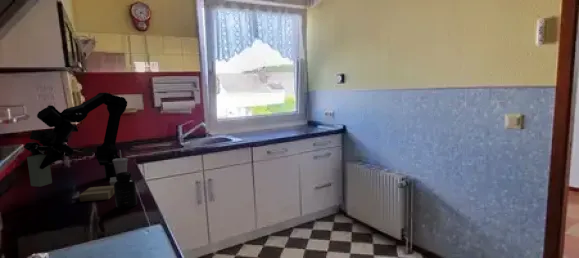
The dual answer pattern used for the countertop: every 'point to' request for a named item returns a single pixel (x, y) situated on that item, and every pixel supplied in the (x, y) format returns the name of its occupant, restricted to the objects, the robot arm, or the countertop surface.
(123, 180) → the supplement bottle
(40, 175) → the sage block
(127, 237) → the countertop surface
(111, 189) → the oak block
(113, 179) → the grey tile block
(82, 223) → the countertop surface
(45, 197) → the countertop surface
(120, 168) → the smoothie
